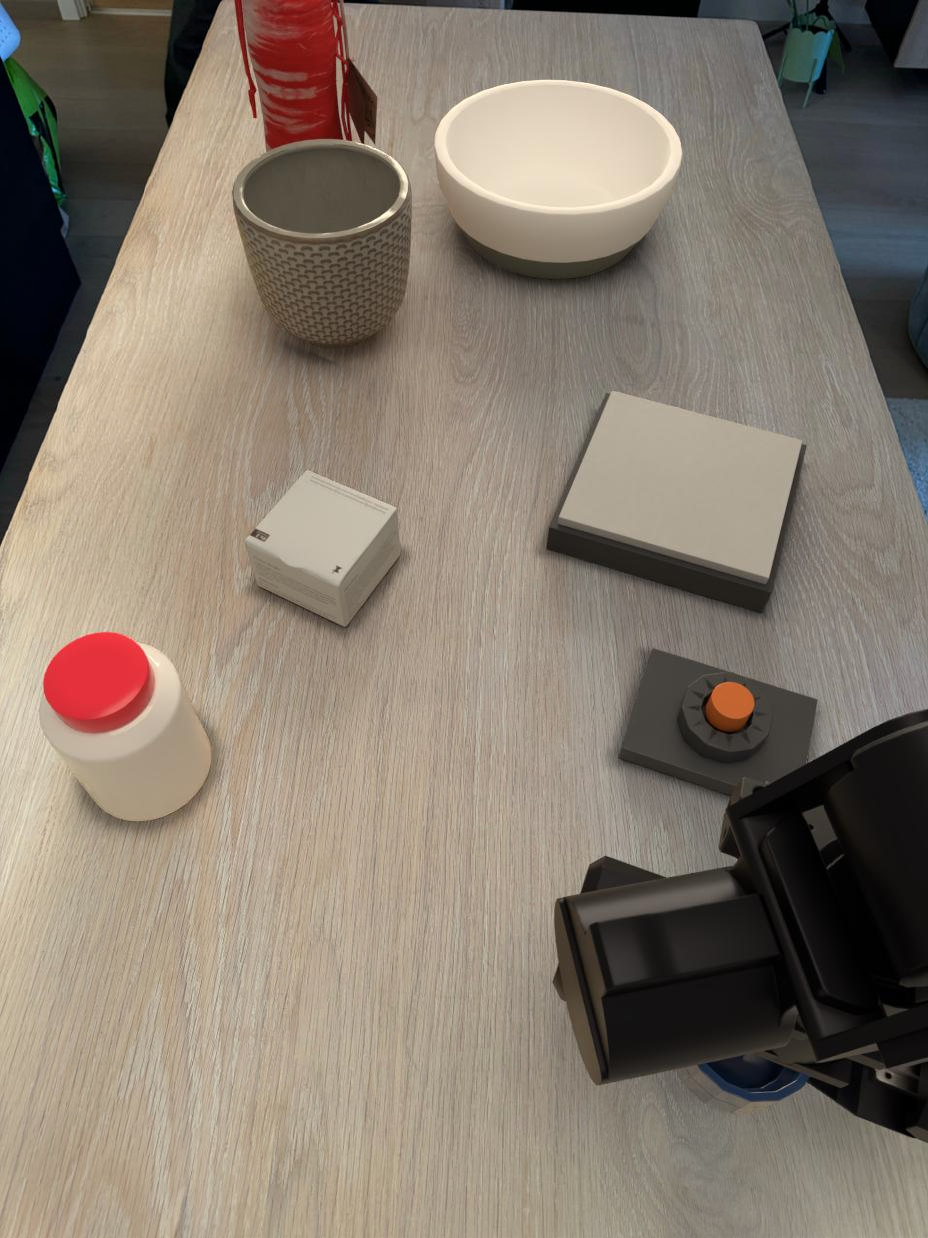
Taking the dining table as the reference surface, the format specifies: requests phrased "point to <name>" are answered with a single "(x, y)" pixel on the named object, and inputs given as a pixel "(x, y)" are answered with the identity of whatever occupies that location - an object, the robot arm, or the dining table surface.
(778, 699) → the pad
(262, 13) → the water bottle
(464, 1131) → the dining table surface
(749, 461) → the scale
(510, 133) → the bowl
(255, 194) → the planter
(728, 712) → the button
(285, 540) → the small box
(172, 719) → the pill bottle
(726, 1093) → the small dish
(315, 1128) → the dining table surface
